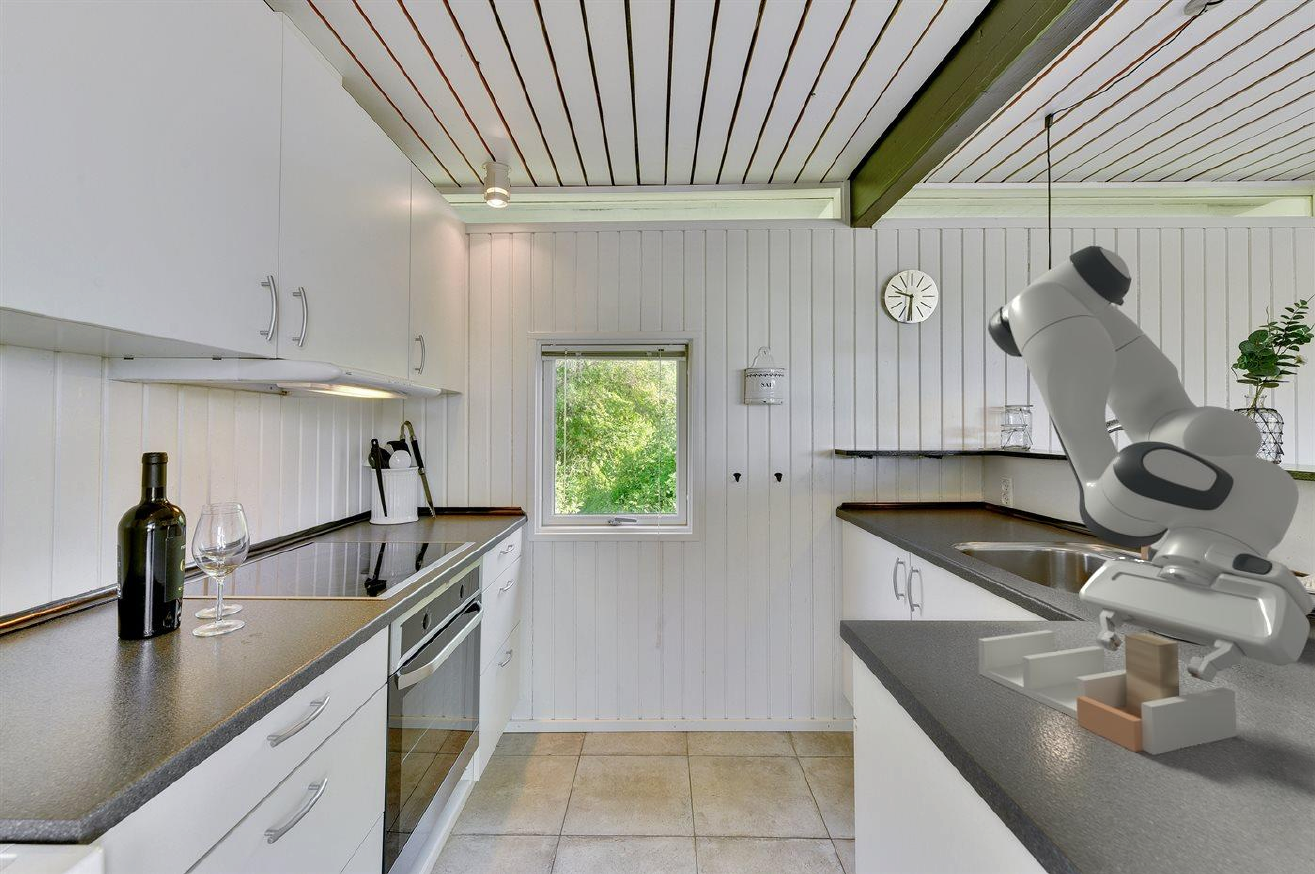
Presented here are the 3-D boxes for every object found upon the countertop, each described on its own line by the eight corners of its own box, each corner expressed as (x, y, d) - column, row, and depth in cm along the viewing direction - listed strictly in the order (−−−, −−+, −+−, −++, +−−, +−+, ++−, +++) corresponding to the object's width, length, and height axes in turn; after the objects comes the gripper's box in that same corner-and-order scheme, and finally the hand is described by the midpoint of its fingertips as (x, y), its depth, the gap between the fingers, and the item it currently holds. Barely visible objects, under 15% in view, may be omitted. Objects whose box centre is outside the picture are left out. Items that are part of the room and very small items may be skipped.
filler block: (1145, 708, 66) (1143, 632, 66) (1180, 722, 62) (1177, 642, 62) (1127, 711, 65) (1124, 635, 65) (1161, 726, 61) (1158, 645, 62)
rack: (1048, 663, 82) (1047, 629, 83) (1236, 735, 61) (1234, 690, 61) (972, 674, 79) (971, 639, 79) (1145, 756, 57) (1143, 708, 58)
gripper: (1099, 539, 76) (1047, 616, 73) (1308, 569, 56) (1248, 677, 53) (1123, 569, 77) (1073, 647, 74) (1337, 609, 57) (1280, 717, 54)
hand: (1148, 660), depth 63 cm, fingers open, 8 cm apart
